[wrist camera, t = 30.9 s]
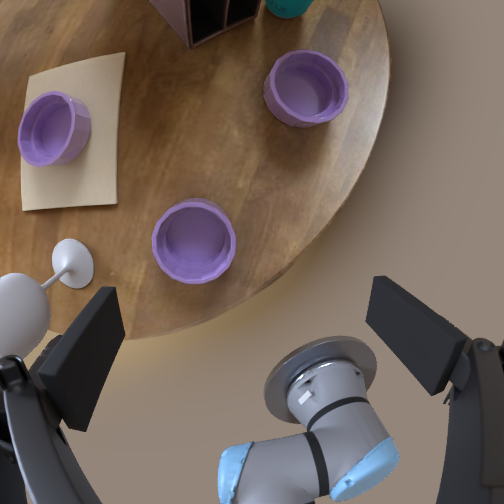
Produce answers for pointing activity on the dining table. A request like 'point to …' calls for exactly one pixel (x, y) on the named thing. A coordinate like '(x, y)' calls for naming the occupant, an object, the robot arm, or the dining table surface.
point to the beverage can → (288, 7)
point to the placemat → (98, 143)
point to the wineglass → (38, 298)
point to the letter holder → (205, 17)
